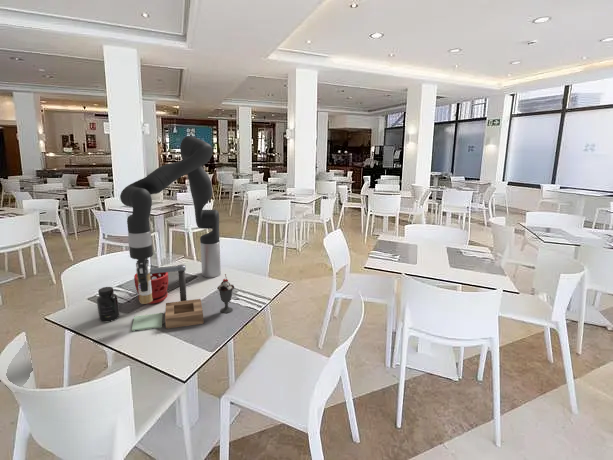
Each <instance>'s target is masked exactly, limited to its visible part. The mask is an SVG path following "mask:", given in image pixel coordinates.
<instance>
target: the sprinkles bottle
mask: <svg viewBox="0 0 613 460" xmlns="http://www.w3.org/2000/svg"><path fill="white" fill-rule="evenodd" d="M150 268H151V267H150V266H148V275H147V279H148V281H147V285H148V291H145V292H142V291H141V286H140V283H139V281H138V290H139V294H138V296H139V298H140V301H139V300H138V301H139V304H142V305H145V304H146V305H148V304H147V303H150V302H152V301H153V299H152V288H151V279H150V276H151V274H150ZM135 271H136V273H137V268H135ZM136 273H135V274H136ZM137 277H138V275H137ZM141 279H144V277H141ZM138 280H139V279H138Z"/></svg>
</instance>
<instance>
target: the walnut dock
mask: <svg viewBox="0 0 613 460" xmlns="http://www.w3.org/2000/svg"><path fill="white" fill-rule="evenodd" d="M185 271H186V270H185ZM185 271H182V272H179V271H177V272H178V273H177V274H178V283H179V284H178V286H179V298H180V299H179V300H180V301H171V302H166V303H165V315H164V321H165V329H166V330H168V329H175V328H182V327H187V326H188V327H189V326H196V325H202V324H204V312H203V311H204V310H203V306H202V299H201V298H195V299H189V300H187V298H188V297H187V286H186V285H187V284H186V272H185Z"/></svg>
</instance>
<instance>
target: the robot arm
mask: <svg viewBox="0 0 613 460" xmlns="http://www.w3.org/2000/svg"><path fill="white" fill-rule="evenodd" d="M179 146H180V149H179V150H180V151H179V152H180V156H181V158H182V160H179V161H175V162H171V163H167V164H164V165H162V166H161V165H160V167H157V168H155V169H154V170H153V171H151V173H149V174H148V175H146V176H145V177H143V178H140V179H138V180H137V181H135V182H132V183H130V184H128V185H126V186H125V187H124V189H122V191H121V193H120V195H119V198H120V199H119V200H120V202H121V203H122V204H123V205H124V206H126V207H129V208H132V214H130V215H128V216H127V218H126V219H127V220H126V224H127V234H128V235H127V240H128V250H129V251H128V252H129V257H130V258H131V259H132V260H136V262H135V267H136V268H137V275H138V279H139V280H138V281H139V283H140V286H141V291H142V292H145V291H148V285H147V281H148V279H147V275H148V266H149V264H150V260H149V258H151V257H153V255H154V249H153V248H154V247H153V239H152V238H153V237H152V232H151V225H150V217H151V212H152V205H153V199H152V195H156V194H159V193H161V192H163V191H164V190H166V189H167V188H168V187H169V186H170V185H171V184H172V183H174V182H175V181H177V180H179V179H180V178H182V177H184V176H185V175H187V179H188V183H189V190H190V193H191V197H192V198H191V199H192V202H193V208H194V214H195V215H194V216H195V223H196V224H195V225H196V226H197V228H198V229H203V230H206V229H207V230H209V229H210V230H211V229H212V230H211V231H210V232H207V233H204V234H203V235H201V236H200V238H199V242H200V246H199V247H200V259H201V262H200V263H201V276H202V277H205V278H217V277H219V276H220V275H222V273H221V272H222V271H221V266H222V265H221V246H220V245H221V244H220V213H219V211H218V210H217V209H204V208H205V206H206V204H207V203H209V201H210V200H211V198H212V196H213V186H212V185H213V184H212V181H211V178H210V176H209V175H208V173H207V171H206V170H205V169H204V167H203V166H204V165H206V164H207V163H209V161H210V160H211V158H212V156H213V152H214V151H213V147H212V145H211V144H210V143H209V142H206V141H204V140H202V139H200V138H197V137H196V136H192V135H187V136H185V137H183V139H182V140H181V142H180V145H179ZM149 267H150V266H149ZM136 268H135V269H136ZM141 277H144V279H141Z"/></svg>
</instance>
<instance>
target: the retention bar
mask: <svg viewBox="0 0 613 460" xmlns="http://www.w3.org/2000/svg"><path fill="white" fill-rule="evenodd" d="M178 271H179V272H182V271H186V264H179V265H172V266H164V267H161V266H160V267H152V268H151V267H150V275H152V274H153V273H164V272H168V273H172V272H174V273H175V272H178Z"/></svg>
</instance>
